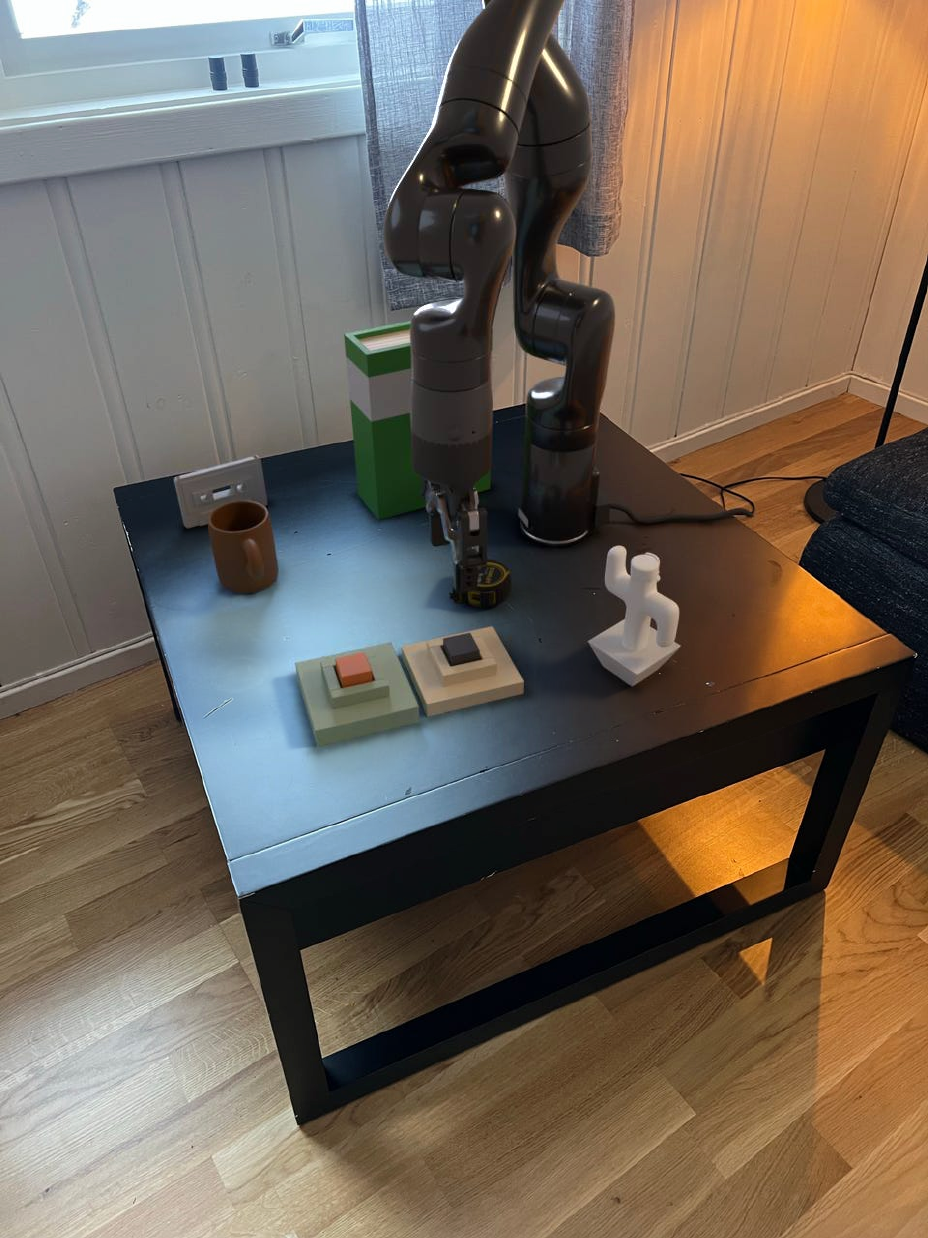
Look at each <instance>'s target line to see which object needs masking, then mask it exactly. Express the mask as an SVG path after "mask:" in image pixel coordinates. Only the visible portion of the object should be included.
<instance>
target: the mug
mask: <svg viewBox="0 0 928 1238" xmlns="http://www.w3.org/2000/svg"><path fill="white" fill-rule="evenodd" d="M207 521H208V524H207V529H208V537H209V542H210V547H211V552H212V556H213V560H214V564H215V569H216V573H217V578H218V580H219V583H220V585H221V586H222V587H223V588H224V589H225V590H227V591H228V592H231V593H234V594H238V595H239V594H240V595H249V594H255V593H259V592H261V591H264V590H266V589H268V588H270V587H271V586H272V585H273V584H274V583H275V582H276V580H277V579H278V576H279V563H278V557H277V549H276V544H275V543H276V542H275V537H274V529H273V525H272V520H271V517H270V512H269V510H268V509H267V507H266V506H263V505H262V504H260V503H257V502H254V501H247V500H241V501H233V502H228V503H225V504H223V505H220V506H218V507H217V508H215V509H214V510H213V511H212V512H211V513H210V514H209V516H208V520H207Z"/></svg>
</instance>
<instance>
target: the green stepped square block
mask: <svg viewBox="0 0 928 1238" xmlns="http://www.w3.org/2000/svg"><path fill="white" fill-rule="evenodd" d="M363 652H364V653H365V655H366V658H367V661H368V663H369V666H370V668H371V671H372V682H367V683H363V684H359V685H354V686H350V687H345V688H343V687H342V684H341V681H340V678H339V675H338V672H337V669H336V662H335V659H336V658H340V657H345V656H349V655H354V654H358V653H363ZM294 667H295V673H296V679H297V682H298V686H299V690H300V693H301V696H302V699H303V704H304V706H305V710H306V714H307V716H308V720H309V723H310V727H311V730H312V733H313V737H314V740H315V744H316V747H317V748H318V747H323V746H326V745H330V744H335V743H338V742H343V741H348V740H351V739H356V738H359V737H363V736H368V735H372V734H376V733H380V732H385V731H389V730H392V729H397V728H401V727H404V726H409V725H413V724H417V723H420V706H419V704H418V701H417V698H416V697H415V694H414V692H413V689H412V688H411V685H410V682H409V680H408V678H407V676H406V673H405V671H404V669H403V666H402V664H401V661H400V659H399V657H398V654H397V652H396V650H395V648H394V645H393V643H392V641H389V642H385V643H381V644H375V645H371V646H367V647H362V648H357V649H352V650H349V651H344V652H339V653H335V654H329V655H325V656H321V657H317V658H312V659H307V660H306V659H305V660H302V661H298V662H294Z"/></svg>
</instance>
